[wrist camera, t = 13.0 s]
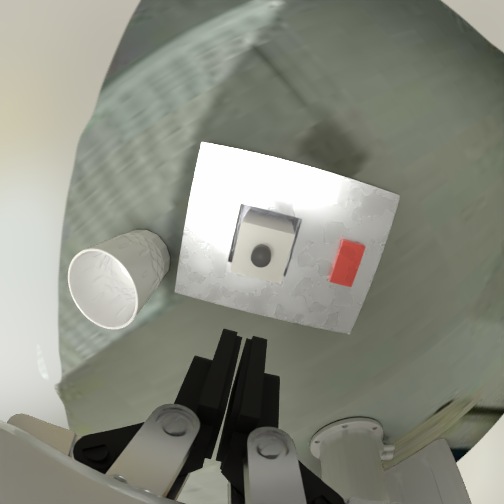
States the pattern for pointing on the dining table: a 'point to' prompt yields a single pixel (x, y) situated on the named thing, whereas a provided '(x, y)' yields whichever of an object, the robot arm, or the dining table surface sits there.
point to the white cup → (118, 277)
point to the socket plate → (304, 244)
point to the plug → (263, 247)
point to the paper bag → (427, 478)
